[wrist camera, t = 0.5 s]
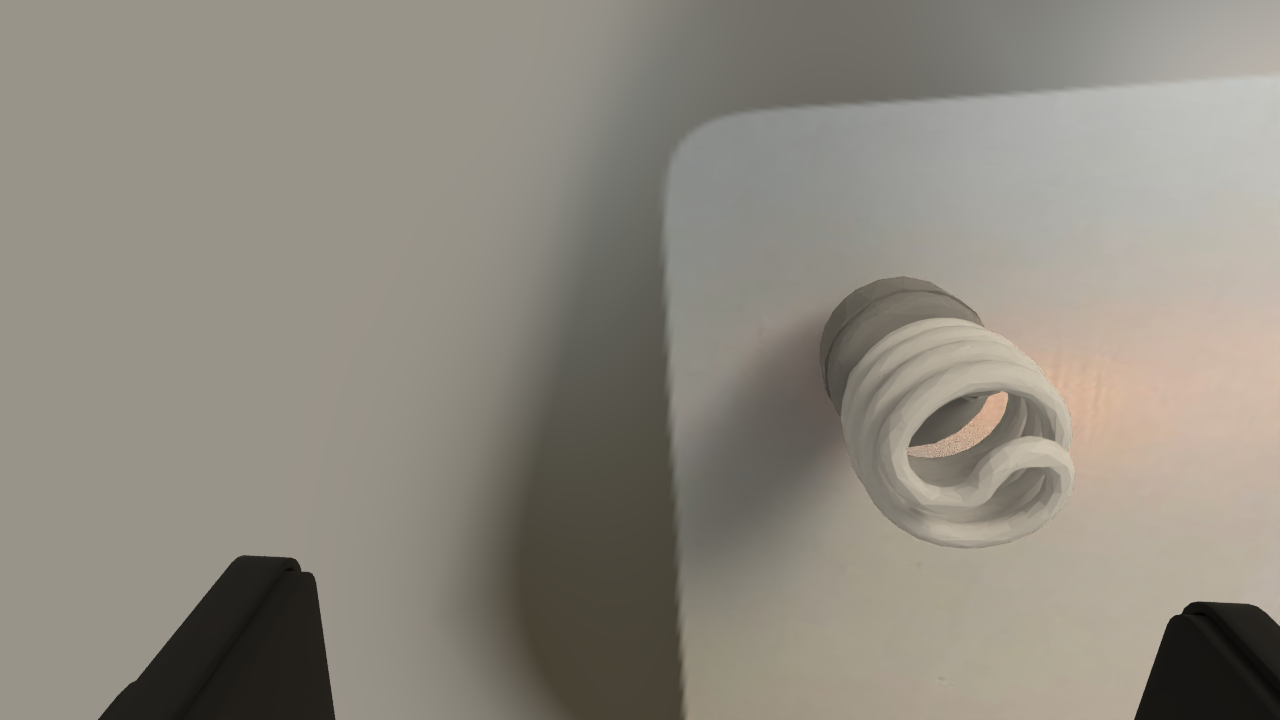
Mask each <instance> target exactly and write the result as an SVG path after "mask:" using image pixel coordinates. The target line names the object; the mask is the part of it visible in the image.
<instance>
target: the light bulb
mask: <svg viewBox="0 0 1280 720" xmlns="http://www.w3.org/2000/svg"><path fill="white" fill-rule="evenodd" d="M820 363H821V368H822V373H823V379H824V384H825V389H826V391H827V393H828V395H829V397H830V399H831V401H832V402H833V404H834V406H835V408H836V409H837V411H838V413H839V415H840V417H841V425H842V431H843V437H844V441H845V443H846V446H847V448H848V453H849V456H850V459H851V463H852V466H853V468H854V470H855V472H856V474H857V476H858V478H859V479H860V481H861V482H862V484H863V485H864V487H865V488H866V490H867V492H868V494H869V496H870V497H871V499H872V501H873V502H874V504H875V505H876V506H877V507H878V509H879V510H880V511H881V512H882V514H883V515H884V516H886V517H887V518H888V519H889V520H890V521H892V522H893V523H894V524H895V525H896V526H898V527H899V528H901V529H902V530H904V531H906V532H908V533H909V534H911V535H913V536H915V537H916V538H918V539H921V540H925V541H928V542H931V543H934V544H937V545H940V546H948V547H957V548H983V547H989V546H994V545H999V544H1004V543H1009V542H1012V541H1014V540H1017V539H1019V538H1021V537H1024V536H1026V535H1029V534H1031V533H1033V532H1035V531H1036V530H1038V529H1040V528H1041V527H1043V526H1044V525H1045V524H1047V523H1048V522H1050V521H1051V520H1053V518H1054V517H1055V516H1056V515H1057V514H1058V512H1059V511H1060V510H1061V509H1062V507H1063V506H1064V505H1065V503H1066V502H1067V500H1068V498H1069V496H1070V495H1071V493H1072V491H1073V488H1074V476H1075V472H1074V464H1073V462H1072V460H1071V457H1070V455H1069V450H1070V445H1071V441H1072V436H1073V434H1072V426H1071V417H1070V412H1069V410H1068V408H1067V405H1066V403H1065V401H1064V399H1063V397H1062V396H1061V395H1060V393H1059V392H1058V390H1057V389H1056V388H1055V387H1054V386H1053V385H1052V384H1051V383H1050V382H1049V380H1048V378H1047V377H1046V375H1045V374H1044V372H1043V371H1042V369H1041V368H1040V367H1039V365H1038V364H1037V363H1035V362H1034V361H1033V360H1032V359H1030V358H1029V357H1028V356H1027V355H1026V354H1024V353H1023V352H1022V351H1021V350H1020V349H1019V348H1017V347H1016V346H1015V345H1014V344H1013V343H1011V342H1010V341H1009V340H1008V339H1007V338H1005V337H1003V336H1001V335H999V334H997V333H994V332H991V331H989V330H988V329H986V328H985V326H984V325H983V324H982V322H981V320H980V319H979V317H978V315H977V314H976V312H974V311H973V310H972V309H971V308H969V307H968V306H967V305H966V304H964V303H963V302H962V301H961V300H959V299H957V298H956V297H954V296H952V295H951V294H949V293H947V292H946V291H944V290H942V289H941V288H939V287H937V286H936V285H934V284H932V283H931V282H928V281H923V280H918V279H914V278H909V277H897V278H889V279H882V280H877V281H875V282H873V283H871V284H868V285H866V286H864V287H862V288H859V289H857V290H855V291H854V292H852V293H851V294H850V295H849V296H847V297H846V298H845V299H844V300H843V301H842V302H841V303H840V304H839V305H838V307H837V308H836V309H835V310H834V311H833V313H832V315H831V316H830V318H829V320H828V322H827V323H826V325H825V328H824V332H823V336H822V340H821V348H820ZM1001 391H1004V392H1007V393H1008V403H1007V407H1006V411H1005V413H1004V415H1003V417H1002V419H1001V421H1000V422H999V424H998V425H997V426H996V427H995V428H994V430H993V431H992V432H991V433H990V435H988V436H987V437H986V438H985V439H983V440H982V441H981V442H980V443H978V444H976V445H975V446H973V447H971V448H970V449H968V450H965V451H962V452H960V453H957V454H954V455H951V456H945V457H937V458H925V457H914V456H911V455H908V454H907V449H908V447H913V446H920V445H926V444H932V443H936V442H938V441H940V440H942V439H944V438H946V437H948V436H950V435H952V434H954V433H956V432H958V431H960V430H961V429H962V428H963V427H964V426H965V425H966V424H968V423H969V422H970V421H971V420H972V419H973V418H974V417H975V416H976V415H977V414H978V413H979V412H980V410H981V409H982V407H983V405H984V403H985V401H986V400H987V398H988V396H991V395H993V394H996V393H999V392H1001Z"/></svg>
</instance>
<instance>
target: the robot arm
mask: <svg viewBox="0 0 1280 720" xmlns="http://www.w3.org/2000/svg"><path fill="white" fill-rule="evenodd" d="M98 720H335V714H334V707H333V700H332V693H331V686H330V679H329V671H328V665H327V658H326V650H325V643H324V636H323V629H322V622H321V615H320V608H319V600H318V593H317V587H316V581H315V577H314V576H313V574H312V573H310V572H301V568H300V565H299V564H298V562H297V560H296V559H293V558H285V557H266V556H245V555H243V556H240V557H238V558H236V559H235V560H234V561H233V562H232V563H231V564H230V565H229V567H228V568H227V569H226V570H225V572H224V573H223V574H222V575H221V577H220V578H219V579H218V580H217V581H216V583H215V584H214V585H213V586H212V588H211V589H210V590H209V591H208V593H207V594H206V595H205V596H204V597H203V599H202V600H201V601H200V602H199V604H198V605H197V606H196V607H195V609H194V610H193V611H192V612H191V614H190V615H189V616H188V617H187V618H186V620H185V621H184V622H183V624H182V625H181V626H180V627H179V628H178V630H177V631H176V632H175V633H174V635H173V636H172V637H171V638H170V640H169V641H168V642H167V643H166V644H165V646H164V647H163V648H162V649H161V651H160V652H159V653H158V654H157V655H156V657H155V658H154V659H153V661H152V662H151V663H150V664H149V665H148V667H147V668H146V669H145V671H144V672H143V673H142V674H141V675H140V676H139V678H138V679H137V680H136V681H135V682H132V683H131V684H129V685H128V686H127V687H126V688H125V689H124V690H123V691H122V692H121V693H120V694H119V695H118V696H117V697H116V698H115V700H114V701H113V702H112V703H111V704H110V706H109V707H108V708H107V709H106V711H105V712H104V713H103V714H102V715H101V717H100V718H99V719H98ZM1134 720H1280V626H1279V625H1278V624H1277V623H1276V622H1275V621H1274V620H1273V619H1272V618H1271V617H1270V616H1269V615H1268V614H1267V613H1265V612H1264V611H1263V610H1261V609H1260V608H1259V607H1257V606H1253V605H1250V604H1239V603H1218V602H1193V603H1190V604H1189V605H1188V606H1187V607H1185V608H1184V610H1183V612H1182V614H1180V615H1175V616H1174V617H1172V618H1171V619H1170V621H1169V622H1168V624H1167V627H1166V630H1165V632H1164V635H1163V638H1162V641H1161V644H1160V647H1159V650H1158V653H1157V655H1156V658H1155V661H1154V664H1153V667H1152V670H1151V673H1150V676H1149V679H1148V681H1147V684H1146V687H1145V690H1144V693H1143V696H1142V699H1141V702H1140V704H1139V707H1138V710H1137V713H1136V716H1135V719H1134Z"/></svg>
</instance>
